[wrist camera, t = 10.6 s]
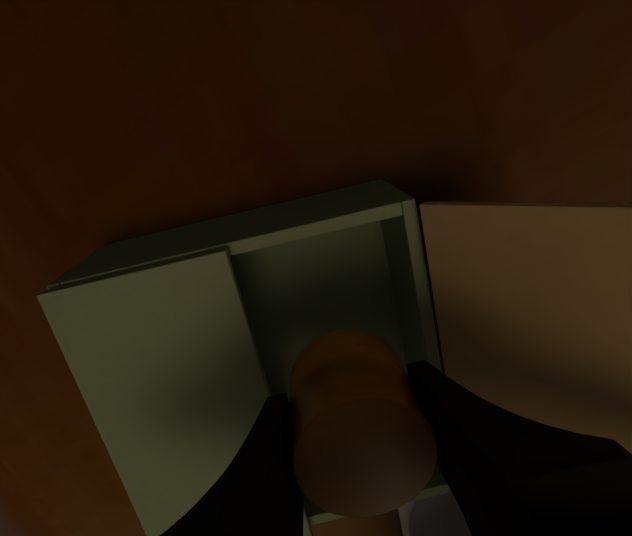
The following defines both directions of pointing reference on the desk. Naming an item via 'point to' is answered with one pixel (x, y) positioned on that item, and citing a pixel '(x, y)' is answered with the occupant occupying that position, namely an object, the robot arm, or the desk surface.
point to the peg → (357, 427)
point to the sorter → (232, 329)
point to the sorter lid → (537, 308)
